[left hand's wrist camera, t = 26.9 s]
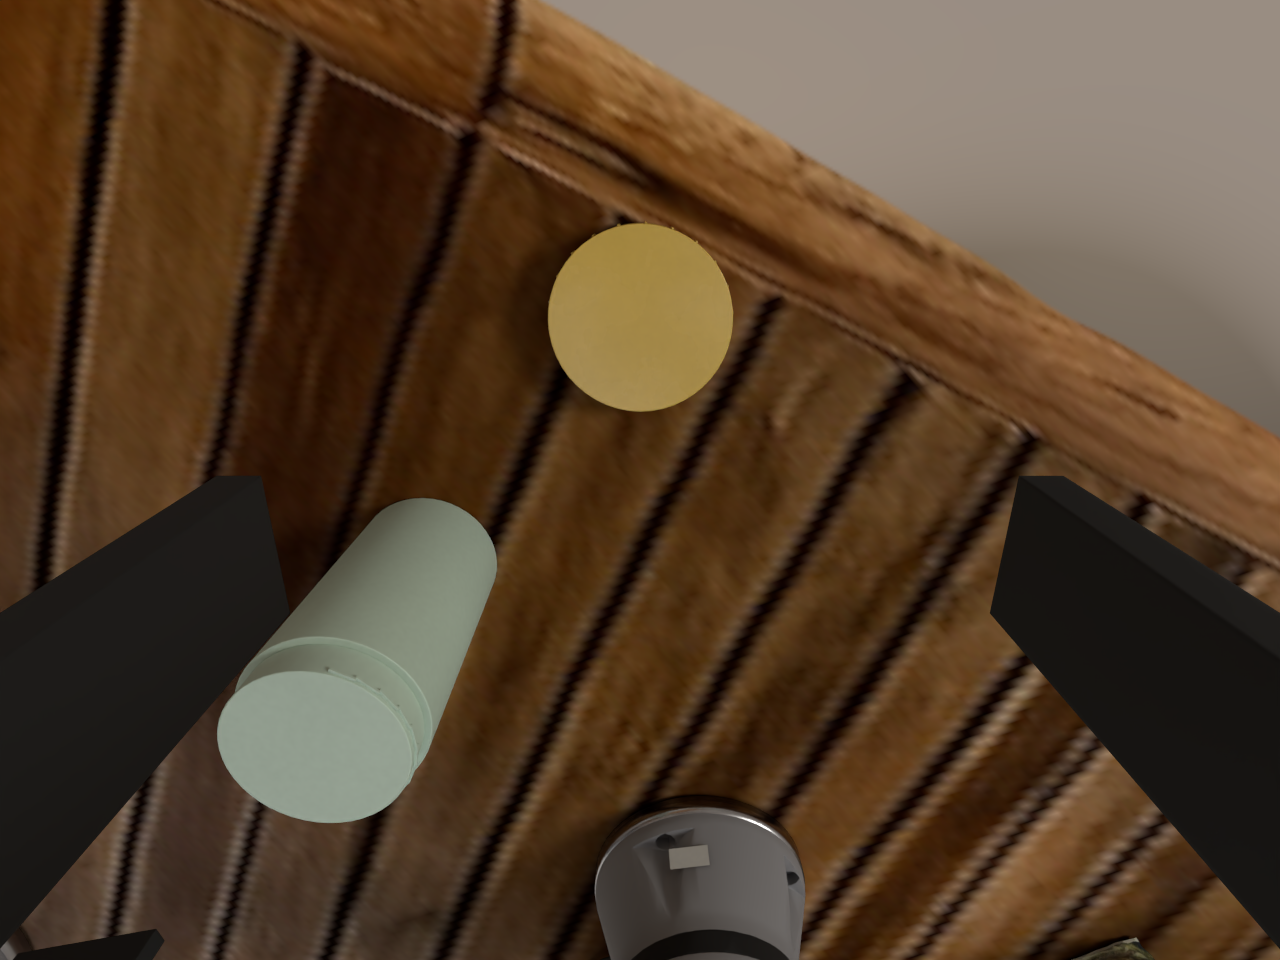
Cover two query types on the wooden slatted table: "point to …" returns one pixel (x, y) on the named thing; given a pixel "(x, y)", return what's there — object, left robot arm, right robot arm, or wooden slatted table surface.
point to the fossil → (1119, 952)
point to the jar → (361, 667)
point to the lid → (640, 317)
